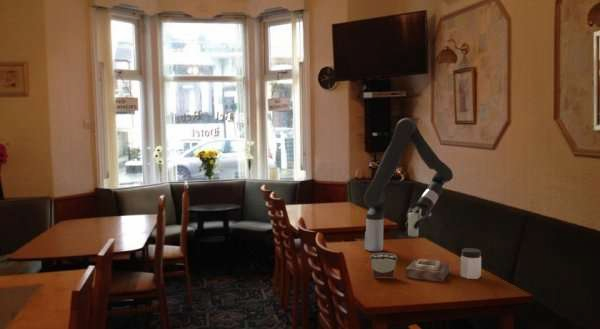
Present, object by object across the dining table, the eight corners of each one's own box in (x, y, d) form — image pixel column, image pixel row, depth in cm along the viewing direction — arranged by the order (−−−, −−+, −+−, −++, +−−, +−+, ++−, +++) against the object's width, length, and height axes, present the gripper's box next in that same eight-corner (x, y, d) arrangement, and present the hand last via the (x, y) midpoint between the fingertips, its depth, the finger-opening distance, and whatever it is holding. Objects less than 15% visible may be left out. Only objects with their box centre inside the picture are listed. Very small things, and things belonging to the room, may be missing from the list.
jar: (484, 277, 228) (485, 251, 227) (471, 280, 224) (471, 253, 223) (470, 272, 236) (470, 246, 235) (456, 274, 232) (457, 248, 231)
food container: (396, 274, 234) (396, 252, 233) (397, 278, 228) (397, 256, 227) (369, 273, 235) (369, 252, 234) (369, 277, 229) (369, 255, 228)
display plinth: (405, 277, 229) (406, 265, 228) (414, 268, 243) (414, 256, 243) (442, 282, 222) (442, 269, 221) (448, 272, 236) (448, 260, 236)
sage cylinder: (406, 235, 250) (407, 213, 249) (409, 233, 255) (409, 212, 254) (417, 236, 248) (417, 214, 247) (419, 234, 252) (419, 212, 251)
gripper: (413, 194, 260) (396, 220, 254) (435, 197, 248) (417, 224, 242) (420, 203, 263) (403, 229, 257) (442, 207, 251) (425, 234, 246)
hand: (410, 227), depth 250 cm, fingers closed on sage cylinder, 5 cm apart
